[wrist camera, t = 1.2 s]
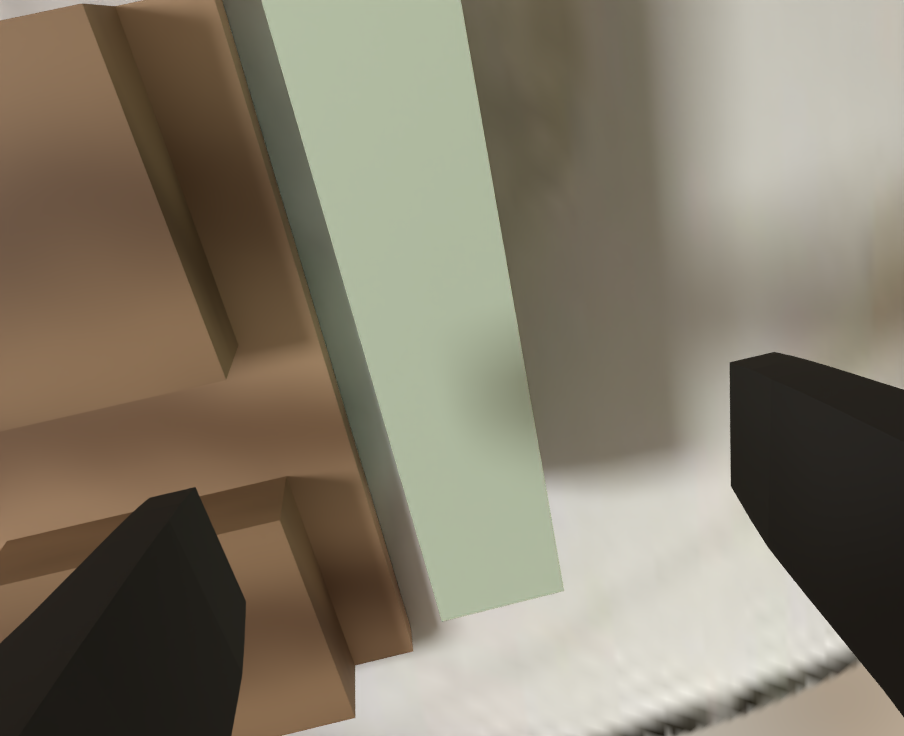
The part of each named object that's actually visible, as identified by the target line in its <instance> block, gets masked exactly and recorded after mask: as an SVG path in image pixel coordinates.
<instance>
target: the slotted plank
mask: <svg viewBox="0 0 904 736" xmlns="http://www.w3.org/2000/svg"><path fill="white" fill-rule="evenodd" d="M193 487H196V489H197V492H198V494H199V496H200V498H201V501H202V503H203V505H204V507H205V510H206V512H207V514H208V516H209V519H210V521H211V523H212V525H213V528H214V530H215V532H216V535H217V537H218V539H219V541H220V544H221V546H222V548H223V550H224V553H225V555H226V557H227V559H228V562H229V564H230V566H231V568H232V571H233V573H234V575H235V577H236V580H237V582H238V584H239V586H240V589H241V591H242V593H243V596H244V598H245V600H246V619H245V643H244V658H243V673H242V680H241V686H240V691H239V697H238V703H237V708H236V714H235V719H234V725H233V730H232V736H282V735H286V734H290V733H295V732H299V731H303V730H307V729H311V728H315V727H319V726H323V725H327V724H331V723H336V722H340V721H344V720H348V719H352V718H355V665H358V664H363V663H367V662H371V661H375V660H379V659H383V658H387V657H391V656H396V655H400V654H404V653H408V652H412V651H413V645H412V635H411V627H410V624H409V621H408V617H407V614H406V611H405V607H404V604H403V601H402V597H401V594H400V591H399V587H398V584H397V581H396V577H395V574H394V571H393V567H392V564H391V561H390V557H389V554H388V551H387V547H386V544H385V541H384V537H383V534H382V531H381V527H380V524H379V521H378V517H377V514H376V511H375V508H374V504H373V501H372V498H371V494H370V491H369V488H368V484H367V481H366V478H365V474H364V471H363V468H362V464H361V461H360V458H359V454H358V451H357V448H356V444H355V441H354V438H353V434H352V431H351V428H350V424H349V421H348V418H347V414H346V411H345V408H344V404H343V401H342V398H341V394H340V391H339V388H338V384H337V381H336V378H335V374H334V371H333V368H332V365H331V361H330V358H329V355H328V351H327V348H326V345H325V341H324V338H323V335H322V331H321V328H320V325H319V321H318V318H317V315H316V311H315V308H314V305H313V301H312V298H311V295H310V291H309V288H308V285H307V281H306V278H305V275H304V271H303V268H302V265H301V261H300V258H299V255H298V251H297V248H296V245H295V241H294V238H293V235H292V231H291V228H290V225H289V222H288V218H287V215H286V212H285V208H284V205H283V202H282V198H281V195H280V192H279V188H278V185H277V182H276V178H275V175H274V172H273V168H272V165H271V162H270V158H269V155H268V152H267V148H266V145H265V142H264V138H263V135H262V132H261V128H260V125H259V122H258V118H257V115H256V112H255V108H254V105H253V102H252V98H251V95H250V92H249V88H248V85H247V82H246V79H245V75H244V72H243V69H242V65H241V62H240V59H239V55H238V52H237V49H236V45H235V42H234V39H233V35H232V32H231V29H230V25H229V22H228V19H227V15H226V12H225V9H224V5H223V2H222V0H143V1H138V2H134V3H129V4H124V5H119V6H105V5H93V4H78V5H73V6H68V7H63V8H59V9H54V10H49V11H44V12H39V13H35V14H30V15H25V16H20V17H15V18H11V19H6V20H1V21H0V643H1V642H2V641H3V640H4V639H5V638H6V637H7V636H8V635H9V634H11V633H12V632H13V631H14V630H15V629H16V628H17V627H18V626H19V625H20V624H21V623H22V622H23V621H24V620H25V619H26V618H27V617H28V616H29V615H30V614H31V613H32V612H33V611H34V610H35V609H36V608H37V607H38V606H39V605H40V604H41V603H42V602H43V601H44V600H45V599H46V598H47V597H48V596H49V595H50V594H51V593H52V592H53V591H54V590H55V589H56V588H57V587H58V586H59V585H60V584H61V583H62V582H63V581H64V580H65V579H66V578H67V577H68V576H69V575H70V574H71V573H72V572H73V571H74V570H75V569H76V568H77V567H78V566H79V565H80V564H81V563H82V562H83V561H84V560H85V559H86V558H87V557H88V556H89V555H90V554H91V553H92V552H93V551H94V550H95V549H96V548H97V547H98V546H99V545H100V544H101V543H102V542H103V541H104V540H105V539H106V538H107V537H108V536H109V535H110V534H111V533H112V532H113V531H114V530H115V529H116V528H117V527H118V526H119V525H120V524H121V523H122V522H123V521H124V520H125V519H126V518H127V517H128V516H129V515H130V514H131V513H132V512H133V511H134V510H136V509H137V508H138V507H139V506H140V505H141V504H142V503H144V502H145V501H146V500H147V499H148V498H150V497H154V496H159V495H163V494H167V493H172V492H176V491H180V490H185V489H189V488H193Z"/></svg>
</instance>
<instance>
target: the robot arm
mask: <svg viewBox="0 0 904 736" xmlns="http://www.w3.org/2000/svg"><path fill="white" fill-rule="evenodd" d="M730 443H731V487H732V489H733V490H734V492H735V494H736V495H737V497H738V499H739V501H740V502H741V504H742V506H743V507H744V509H745V511H746V513H747V514H748V516H749V518H750V519H751V521H752V523H753V524H754V526H755V527H756V529H757V531H758V532H759V534H760V535H761V537H762V538H763V540H764V542H765V543H766V545H767V546H768V548H769V549H770V550H771V552H772V553H773V554H774V556H775V557H776V558H777V559H778V561H779V562H780V563H781V564H782V566H783V567H784V568H785V569H786V571H787V572H788V573H789V574H790V576H791V577H792V578H793V579H794V581H795V582H796V583H797V584H798V586H799V587H800V588H801V589H802V591H803V592H804V593H805V594H806V596H807V597H808V598H809V599H810V601H811V602H812V603H813V604H814V606H815V607H816V608H817V609H818V610H819V612H820V613H821V614H822V615H823V617H824V618H825V619H826V620H827V621H828V623H829V624H830V625H831V626H832V628H833V629H834V630H835V631H836V632H837V634H838V635H839V636H840V637H841V639H842V640H843V641H844V642H845V644H846V645H847V646H848V647H849V648H850V650H851V651H852V652H853V653H854V655H855V656H856V657H857V658H858V659H859V661H860V662H861V663H862V664H863V666H864V667H865V668H866V669H867V671H868V672H869V673H870V674H871V675H872V677H873V678H874V679H875V680H876V682H877V683H878V684H879V685H880V686H881V688H882V689H883V690H884V691H885V693H886V694H887V695H888V697H889V698H890V699H891V701H892V702H893V703H894V704H895V706H896V707H897V709H898V710H899V711H900V713H901V714H902V715H903V717H904V390H903V389H899V388H896V387H893V386H890V385H887V384H884V383H880V382H877V381H874V380H871V379H868V378H865V377H861V376H858V375H855V374H852V373H849V372H845V371H842V370H839V369H836V368H833V367H829V366H826V365H823V364H819V363H816V362H812V361H809V360H805V359H802V358H798V357H794V356H790V355H785V354H781V353H776V352H772V353H768V354H764V355H760V356H755V357H751V358H747V359H742V360H738V361H734V362H730ZM245 619H246V600H245V598H244V596H243V593H242V591H241V589H240V586H239V584H238V582H237V580H236V577H235V575H234V573H233V571H232V568H231V566H230V564H229V562H228V559H227V557H226V555H225V553H224V550H223V548H222V546H221V544H220V541H219V539H218V537H217V535H216V532H215V530H214V528H213V525H212V523H211V521H210V519H209V516H208V514H207V512H206V510H205V507H204V505H203V503H202V501H201V498H200V496H199V494H198V492H197V489H196V487H193V488H189V489H185V490H180V491H176V492H172V493H167V494H163V495H159V496H154V497H150V498H148V499H147V500H146V501H145V502H144V503H142V504H141V505H140V506H139V507H138V508H137V509H136V510H134V511H133V512H132V513H131V514H130V515H129V516H128V517H127V518H126V519H125V520H124V521H123V522H122V523H121V524H120V525H119V526H118V527H117V528H116V529H115V530H114V531H113V532H112V533H111V534H110V535H109V536H108V537H107V538H106V539H105V540H104V541H103V542H102V543H101V544H100V545H99V546H98V547H97V548H96V549H95V550H94V551H93V552H92V553H91V554H90V555H89V556H88V557H87V558H86V559H85V560H84V561H83V562H82V563H81V564H80V565H79V566H78V567H77V568H76V569H75V570H74V571H73V572H72V573H71V574H70V575H69V576H68V577H67V578H66V579H65V580H64V581H63V582H62V583H61V584H60V585H59V586H58V587H57V588H56V589H55V590H54V591H53V592H52V593H51V594H50V595H49V596H48V597H47V598H46V599H45V600H44V601H43V602H42V603H41V604H40V605H39V606H38V607H37V608H36V609H35V610H34V611H33V612H32V613H31V614H30V615H29V616H28V617H27V618H26V619H25V620H24V621H23V622H22V623H21V624H20V625H19V626H18V627H17V628H16V629H15V630H14V631H13V632H12V633H11V634H9V635H8V636H7V637H6V638H5V639H4V640H3V641H2V642H1V643H0V736H232V730H233V725H234V719H235V714H236V708H237V703H238V697H239V691H240V686H241V680H242V673H243V658H244V643H245Z"/></svg>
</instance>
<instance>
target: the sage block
mask: <svg viewBox="0 0 904 736" xmlns="http://www.w3.org/2000/svg"><path fill="white" fill-rule="evenodd" d="M261 1H262V4H263V8H264V11H265V15H266V18H267V22H268V25H269V29H270V32H271V35H272V39H273V42H274V46H275V49H276V53H277V56H278V59H279V63H280V66H281V70H282V73H283V77H284V80H285V84H286V87H287V90H288V94H289V97H290V101H291V104H292V108H293V111H294V115H295V118H296V121H297V125H298V128H299V132H300V135H301V139H302V142H303V145H304V149H305V152H306V156H307V159H308V163H309V166H310V170H311V173H312V176H313V180H314V183H315V187H316V190H317V194H318V197H319V201H320V204H321V207H322V211H323V214H324V218H325V221H326V225H327V228H328V231H329V235H330V238H331V242H332V245H333V249H334V252H335V256H336V259H337V262H338V266H339V269H340V273H341V276H342V280H343V283H344V287H345V290H346V293H347V297H348V300H349V304H350V307H351V311H352V314H353V317H354V321H355V324H356V328H357V331H358V335H359V338H360V342H361V345H362V348H363V352H364V355H365V359H366V362H367V366H368V369H369V372H370V376H371V379H372V383H373V386H374V390H375V393H376V397H377V400H378V403H379V407H380V410H381V414H382V417H383V421H384V424H385V428H386V431H387V434H388V438H389V441H390V445H391V448H392V452H393V455H394V458H395V462H396V465H397V469H398V472H399V476H400V479H401V483H402V486H403V489H404V493H405V496H406V500H407V503H408V507H409V510H410V514H411V517H412V520H413V524H414V527H415V531H416V534H417V538H418V541H419V544H420V548H421V551H422V555H423V558H424V562H425V565H426V569H427V572H428V575H429V579H430V582H431V586H432V589H433V593H434V596H435V600H436V603H437V606H438V610H439V613H440V617H441V620H442V622H443V621H447V620H451V619H454V618H458V617H462V616H466V615H470V614H474V613H478V612H482V611H486V610H490V609H494V608H498V607H502V606H506V605H510V604H514V603H518V602H522V601H526V600H530V599H534V598H538V597H542V596H546V595H550V594H554V593H558V592H562V591H564V588H563V582H562V576H561V571H560V565H559V559H558V553H557V548H556V542H555V536H554V531H553V525H552V519H551V513H550V508H549V502H548V496H547V491H546V485H545V479H544V473H543V468H542V462H541V456H540V451H539V445H538V439H537V433H536V428H535V422H534V416H533V411H532V405H531V399H530V393H529V388H528V382H527V376H526V371H525V365H524V359H523V353H522V348H521V342H520V336H519V330H518V325H517V319H516V313H515V308H514V302H513V296H512V290H511V285H510V279H509V273H508V268H507V262H506V256H505V250H504V245H503V239H502V233H501V228H500V222H499V216H498V210H497V205H496V199H495V193H494V188H493V182H492V176H491V170H490V165H489V159H488V153H487V148H486V142H485V136H484V130H483V125H482V119H481V113H480V108H479V102H478V96H477V90H476V85H475V79H474V73H473V67H472V62H471V56H470V50H469V45H468V39H467V33H466V27H465V22H464V16H463V10H462V5H461V0H261Z"/></svg>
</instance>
